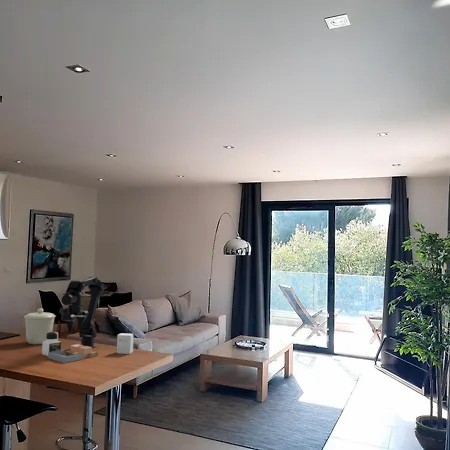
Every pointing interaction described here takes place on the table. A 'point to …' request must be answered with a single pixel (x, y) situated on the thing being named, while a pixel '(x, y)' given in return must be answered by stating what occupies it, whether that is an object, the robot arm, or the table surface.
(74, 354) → the board
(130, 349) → the small box
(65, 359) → the tray
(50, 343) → the medicine bottle
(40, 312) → the canister
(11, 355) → the table surface
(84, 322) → the robot arm
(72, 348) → the tile
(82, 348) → the peach square block
